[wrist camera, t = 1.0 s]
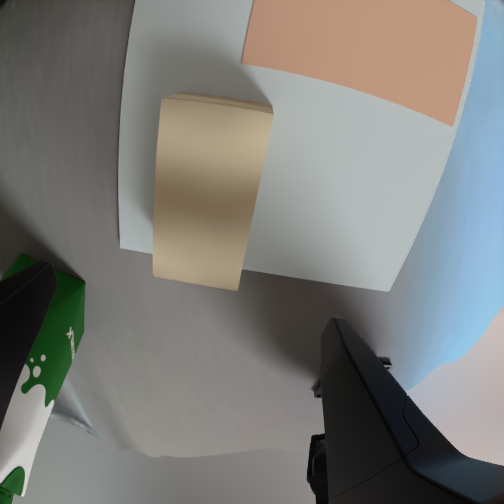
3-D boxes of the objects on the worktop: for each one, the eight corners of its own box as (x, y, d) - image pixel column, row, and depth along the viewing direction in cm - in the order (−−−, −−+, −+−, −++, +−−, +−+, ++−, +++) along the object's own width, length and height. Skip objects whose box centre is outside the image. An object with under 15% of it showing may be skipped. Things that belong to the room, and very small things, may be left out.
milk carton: (92, 339, 28) (26, 521, 11) (20, 306, 26) (-62, 463, 9) (95, 277, 23) (-10, 512, 7) (11, 240, 22) (-115, 423, 5)
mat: (386, 288, 23) (388, 292, 22) (122, 244, 21) (119, 248, 21) (483, -12, 10) (487, -13, 9) (165, -97, 8) (163, -100, 8)
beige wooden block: (240, 256, 21) (237, 291, 18) (167, 244, 21) (153, 276, 18) (271, 104, 16) (274, 114, 13) (180, 91, 15) (161, 98, 12)
